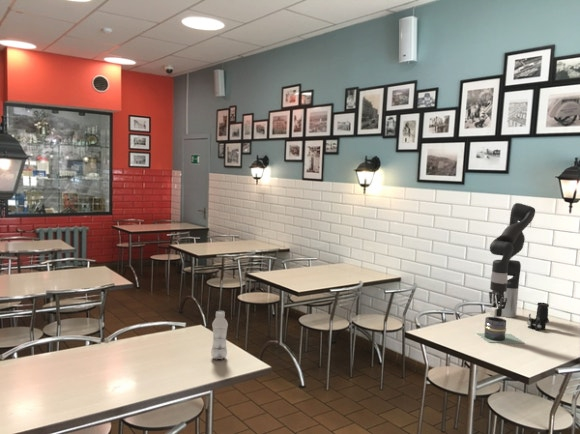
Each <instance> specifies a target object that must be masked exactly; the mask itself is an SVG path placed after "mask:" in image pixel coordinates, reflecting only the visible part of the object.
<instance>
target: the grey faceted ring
mask: <svg viewBox="0 0 580 434" xmlns="http://www.w3.org/2000/svg"><path fill="white" fill-rule="evenodd" d="M506 331H507V319H505V318H503V317H493V316H487V317H485V321H484V332H483V333H484V337H485V338H487V339H490V340H494V341H504V340H505V334H506V333H507V332H506Z"/></svg>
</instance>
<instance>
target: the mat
mask: <svg viewBox="0 0 580 434" xmlns="http://www.w3.org/2000/svg"><path fill="white" fill-rule="evenodd" d="M476 335H478V336H479V337H480V336H481V338H482V339H483V340H484V341H486V342H487V343H490V344H525V342H524V341H523V340H522V339H519V337H516V336H515V335H513V334H512V333H505V340H504V341H494V340H490V339H487V338H485V337H484V332H483V333H482V332H480V333H476Z"/></svg>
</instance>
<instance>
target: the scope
mask: <svg viewBox="0 0 580 434" xmlns="http://www.w3.org/2000/svg"><path fill="white" fill-rule="evenodd" d="M549 306H550V305H549V303H546V302H537V309H536V315H535V318H533V317H531V313H529V314H528V319H527V320H528V321H527V322H526V325H527V328H528V329H530V330H531V329H532V330H535V332H536V331H537V332H539V331H542V330H543V331H545V330H546V325H547V324H548V323H550V319H549Z"/></svg>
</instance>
